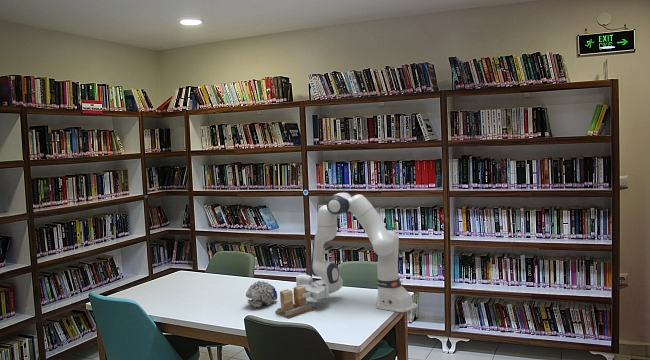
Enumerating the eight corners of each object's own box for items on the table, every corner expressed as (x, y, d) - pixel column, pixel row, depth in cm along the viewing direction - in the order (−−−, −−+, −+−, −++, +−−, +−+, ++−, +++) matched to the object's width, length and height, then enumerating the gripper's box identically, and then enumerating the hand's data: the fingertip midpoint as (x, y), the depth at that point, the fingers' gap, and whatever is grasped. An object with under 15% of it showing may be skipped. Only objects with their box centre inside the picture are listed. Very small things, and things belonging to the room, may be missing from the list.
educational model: (278, 313, 294) (284, 287, 298) (256, 307, 279) (263, 279, 283) (259, 309, 302) (266, 283, 306) (237, 303, 286) (244, 276, 291)
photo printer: (314, 295, 306) (313, 274, 305) (310, 297, 302) (309, 276, 301) (299, 293, 311) (298, 273, 310) (295, 295, 307) (294, 274, 306)
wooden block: (306, 306, 280) (305, 286, 280) (298, 309, 277) (297, 289, 276) (302, 305, 283) (300, 285, 283) (293, 307, 280) (292, 287, 279)
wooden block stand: (315, 309, 279) (314, 286, 278) (289, 318, 268) (287, 294, 267) (301, 305, 288) (300, 283, 287) (275, 313, 277) (273, 290, 276)
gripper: (305, 280, 296) (286, 285, 287) (329, 286, 280) (310, 292, 271) (306, 291, 296) (287, 297, 287) (330, 297, 281) (310, 304, 272)
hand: (298, 294), depth 279 cm, fingers open, 4 cm apart
